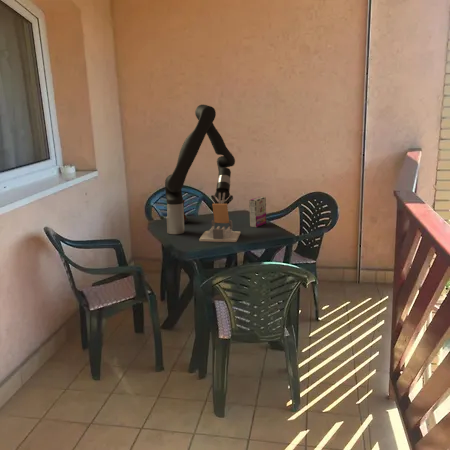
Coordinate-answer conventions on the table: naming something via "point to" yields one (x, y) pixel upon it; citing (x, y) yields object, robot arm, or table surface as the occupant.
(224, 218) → the brown flat panel
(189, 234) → the table surface
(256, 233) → the table surface
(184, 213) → the mug
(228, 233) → the heatsink board
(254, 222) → the candy bar box
